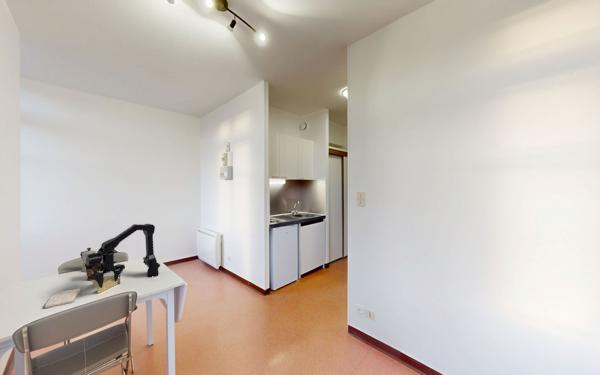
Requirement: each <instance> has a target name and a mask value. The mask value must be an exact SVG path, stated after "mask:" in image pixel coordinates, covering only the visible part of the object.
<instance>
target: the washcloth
mask: <svg viewBox="0 0 600 375" xmlns="http://www.w3.org/2000/svg"><path fill="white" fill-rule="evenodd" d="M80 293H82V288H80V287H79V288H74V289H69V290H62V291H58V292H56V293H54V294H53V295H51V297H50V298H49V299H48V301H47V302H46V303H45V305H44V308H45V309H50V308H55V307H58V306H59V307H60V306H64V305H65V306H66V305H69V304H72V303H74V302H75V301H76V299H77V298H78V297H79V295H80Z"/></svg>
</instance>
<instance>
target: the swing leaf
mask: <svg viewBox="0 0 600 375" xmlns="http://www.w3.org/2000/svg"><path fill="white" fill-rule="evenodd" d="M120 284H121V274H120V275H119V277H118V279H117V281H114V278H113V279H110V280H108V281H106V282H104V283H103V286H102V288H100V287H99V285H97V287H96V293H97V294H100V293H102V292H104V291H106V290H108V289H112V288H113V287H115V286H117V285H120Z"/></svg>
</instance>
